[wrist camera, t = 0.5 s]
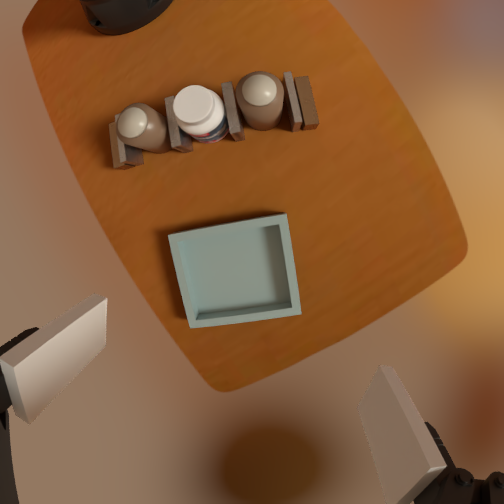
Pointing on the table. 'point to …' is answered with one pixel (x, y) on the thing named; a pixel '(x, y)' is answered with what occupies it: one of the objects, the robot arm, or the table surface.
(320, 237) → the table surface
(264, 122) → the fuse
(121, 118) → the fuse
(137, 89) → the table surface
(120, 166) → the clip rail
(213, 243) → the tray
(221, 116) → the pill bottle
